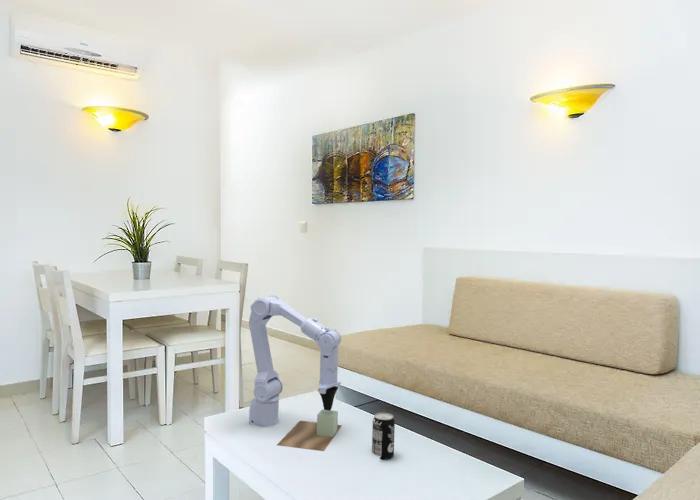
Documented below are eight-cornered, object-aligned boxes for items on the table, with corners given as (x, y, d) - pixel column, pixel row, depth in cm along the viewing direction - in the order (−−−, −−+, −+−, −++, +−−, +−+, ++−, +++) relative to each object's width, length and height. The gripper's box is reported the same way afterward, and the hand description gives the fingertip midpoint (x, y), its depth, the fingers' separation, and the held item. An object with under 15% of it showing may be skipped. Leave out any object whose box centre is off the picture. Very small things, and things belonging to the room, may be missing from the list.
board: (276, 448, 157) (276, 445, 157) (300, 423, 179) (300, 420, 179) (323, 455, 154) (323, 451, 154) (341, 428, 175) (342, 425, 175)
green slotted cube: (316, 435, 166) (317, 414, 166) (321, 429, 171) (322, 409, 171) (332, 436, 165) (333, 416, 165) (337, 430, 170) (337, 411, 170)
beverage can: (393, 451, 158) (395, 412, 157) (393, 460, 151) (394, 420, 151) (372, 450, 158) (373, 411, 158) (371, 459, 152) (372, 419, 151)
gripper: (334, 374, 160) (333, 418, 160) (346, 363, 174) (345, 403, 174) (313, 372, 161) (312, 415, 162) (325, 362, 175) (324, 401, 176)
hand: (327, 409), depth 168 cm, fingers closed
